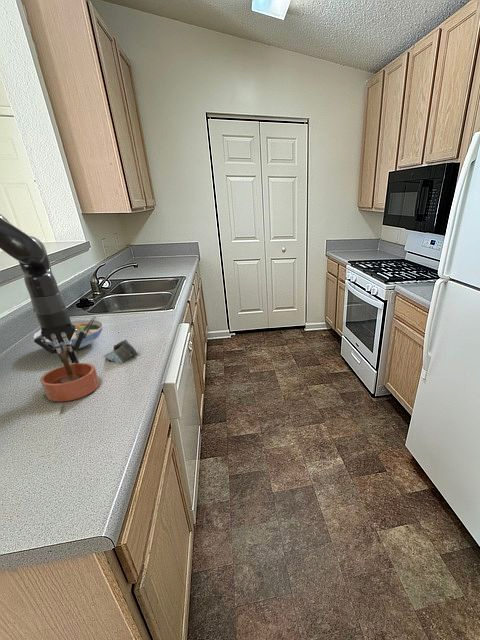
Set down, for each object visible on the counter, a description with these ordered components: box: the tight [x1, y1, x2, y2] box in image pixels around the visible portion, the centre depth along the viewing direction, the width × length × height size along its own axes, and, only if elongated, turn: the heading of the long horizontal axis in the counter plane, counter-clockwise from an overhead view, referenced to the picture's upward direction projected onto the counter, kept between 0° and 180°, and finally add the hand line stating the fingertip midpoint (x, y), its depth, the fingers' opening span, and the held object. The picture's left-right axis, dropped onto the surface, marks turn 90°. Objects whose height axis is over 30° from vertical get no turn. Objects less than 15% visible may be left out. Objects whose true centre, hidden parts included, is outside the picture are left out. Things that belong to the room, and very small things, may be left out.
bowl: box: [39, 362, 100, 403], centre depth 99 cm, size 14×14×6 cm
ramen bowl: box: [33, 316, 104, 351], centre depth 128 cm, size 25×23×8 cm
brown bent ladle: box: [60, 340, 80, 383], centre depth 103 cm, size 18×5×10 cm, turn 26°
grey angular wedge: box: [105, 339, 139, 364], centre depth 119 cm, size 10×7×12 cm
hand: (70, 362), depth 103 cm, fingers closed on brown bent ladle, 1 cm apart
